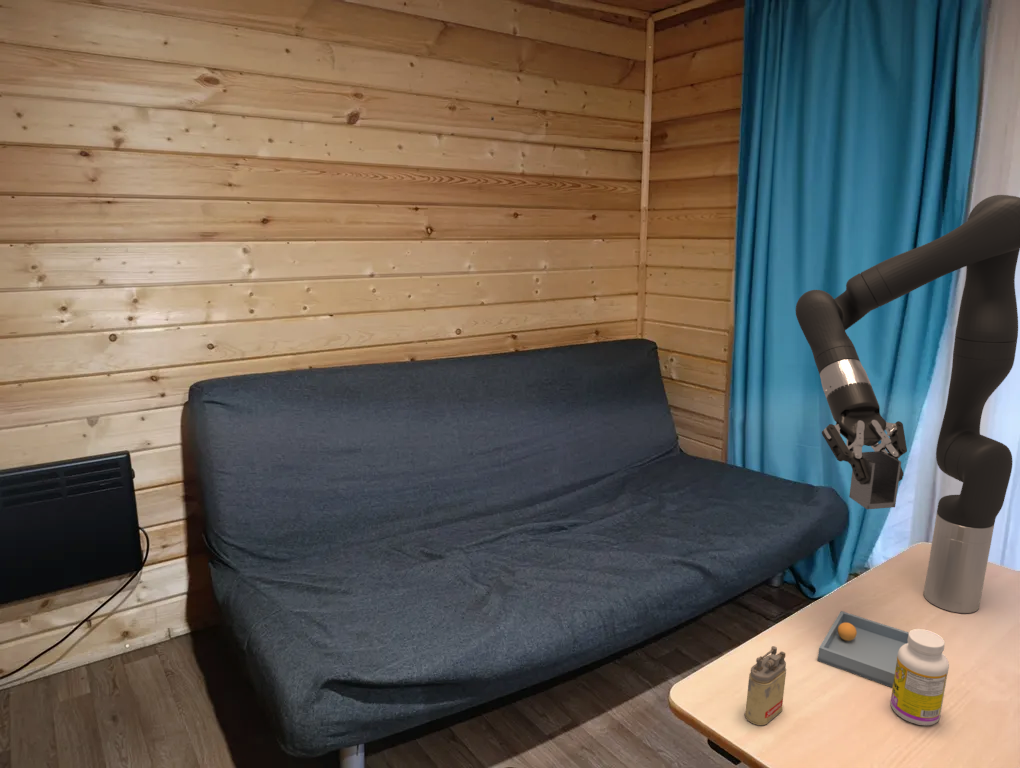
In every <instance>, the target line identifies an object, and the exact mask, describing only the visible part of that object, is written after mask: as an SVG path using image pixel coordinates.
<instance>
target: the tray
mask: <svg viewBox="0 0 1020 768" xmlns="http://www.w3.org/2000/svg"><path fill="white" fill-rule="evenodd" d="M842 623H850V624H852V625H853V626H854V627H855V628H856V631H857V634H856V637H855V638H854V639H853V640H850V641H846V640H844V639H842V638H841V637H840V636H839V634H838V627H839V625H840V624H842ZM909 632H910V631H905V630H903V629H900V628H897V627H894V626H891V625H887V624H885V623H884V624H883V623H881V622H878V621H875V620H872V619H868V618H865V617H861V616H859V615H856V614H852V613H849V612H847V611H843V610H840V612H839V614H838V615H837V617H836V619H835V620H834V621H833V624H832V625H831V627H830V629H829V630H828V632H827V633H826V634H825V637H824V638H823V640H822V642H821V644H820V645H819V647H818V655H817V662H820V663H823V664H825V665H828V666H831V667H834V668H836V669H839V670H842V671H845V672H848V673H851V674H854V675H856V676H858V677H862V678H864V679H867V680H870V681H873V682H874V683H878V684H880V685H881V684H882V685H884V686H886V687H889V688H893V681H894V675H895V669H896V663H897V656H898V651H899V649H900V647H901V646H903V645H904V644H907V643H908V640H907V639H908V634H909Z"/></svg>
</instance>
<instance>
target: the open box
mask: <svg viewBox="0 0 1020 768" xmlns="http://www.w3.org/2000/svg"><path fill="white" fill-rule="evenodd" d="M861 459H863V460H864V462H865V465H866V467H867V470H868V473H869V475H870V481H869V482H868V483H867V484H862V485H861V484H860V482H859V481H857V480H856V478H855V475H854V473H853V470H852V471H851V479H850V487H849V488H850V489H849V495H848V496H849V497H848V498H850V499H851V500H853V501H854V502H855V503H857V504H859V505H860V506H861V507H863V508H864V509H866V510H876V509H888V508H889V509H890V508H891V509H892V508H896V502H897V497H898V489H899V482H900V481H899V475H900V468H902V461H901V460H899V459H898V460H897V459H896V458H894V457H892V456H890V455H888V454H887V453H885V452H883V451H862V457H861Z"/></svg>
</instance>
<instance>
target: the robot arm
mask: <svg viewBox="0 0 1020 768" xmlns="http://www.w3.org/2000/svg"><path fill="white" fill-rule="evenodd" d="M1019 254H1020V197H1019V196H1016V195H1009V194H996V195H990V196H988V197H986V198H985V199H982V200H981V201H979V202H978V203H977V204H976V205H975V206H974V207H973V208H972V210H971V211H970V213H969V215H968V217H967V221H965V222H964V223H962V224H961V225H959V226H958V227H956V228H954V229H953V230H951V231H949V232H947V233H946V234H944V235H942V236H941V237H939V238H936V239H934V240H932V241H929V242H927V243H925V244H923V245H920V246H918V247H914V248H913V249H910V250H908V251H907V250H906V251H905V252H902V253H900V254H897V255H895V256H892V257H890V258H889V257H888V258H887V259H885V260H883V261H881V262H879V263H876V264H875V265H873V266H871V267H868V268H867V269H865V270H863V271H861V272H860V273H858V274H856V275H854V276H852V277H850V278H849V279H848V280H847V282H846V284H845V291H843V292H842V293H841V294H839V295H838V296H837V297H835V298H834V297H833V296H832V295H831V294H830V293H828V292H826V291H824V290H821V289H811V290H808V291H806V292H805V293H803V294H802V295H801V296H800V297H799V298H798V300H797V302H796V305H795V316H796V320H797V322H798V324H799V326H800V330H801V331H802V333H803V335H804V337H805V339H806V341H807V344H808V345H809V347H810V350H811V352H812V355H813V359H814V362H815V365H816V368H817V371H818V374H819V377H820V382H821V387H822V390H823V392H824V393H823V394H824V396H825V399H826V401H827V405H828V407H829V410H830V412H831V415H832V418H833V420H834V422H835V425H834V424H833V423H831V424H828V425H827V426H826V427H825V428H824V429H823V430H822V431H821V434H822V437H823V439H824V440H825V442H826V443H827V445H828V447H829V448H830V450H831V452H832V453H833V456H834V457H835V458H836V460H837V461H838V462H843V461H844V462H847V463H848V464H849V465H850V467H851V469H852V470H853V473H854V475H855V478H856V480H857V481H859V482H860V484H861V485H862V484H867V483H868V482H869V481H870V475H869V473H868V470H867V467H866V465H865V462H864V460H863V459H861V457H862V452H863V446H867V447H871V448H872V449H873V452H875V451H883V452H885V453H887V454H888V455H890V456H892V457H894V458H896V459H897V460H899V458H901V456H903V455H905V454H906V453H907V451H908V447H907V441H906V436H905V429H904V428H905V427H904V423H903V422H901V421H896V422H895V423H893V422H887V421H886V420H885V418H884V417H883V416H882V415H881V412H880V411H881V409H880V408H881V407H880V404H879V401H878V400H877V397H876V394H875V391H874V388H873V387H872V383H871V381H870V379H869V376H868V374H867V371H866V369H865V368H864V367H863V365H862V362H861V360H860V358H859V355H858V351H857V350H856V347H855V345H854V343H853V342H852V339H851V338H850V337H849V335H848V333H847V332H846V330H848V329H849V328H850V327H852V326H854V325H855V324H856V323H857V322H859V321H860V320H861V319H862V318H864V317H865V316H866V315H867V314H869V313H870V312H872V311H873V310H877V309H878V308H880V307H882V306H885V305H888V304H889V303H891V302H892V301H894V300H897V299H899V298H902V296H904V295H907V294H909V293H911V292H913V291H914V290H917V289H919V288H921V287H923V286H925V285H927V284H929V283H931V282H933V281H935V280H938V279H939V278H941V277H943V276H946V275H948V274H951V273H953V272H955V271H958V270H961V269H962V268H965V267H966V268H965V269H966V270H965V271H966V272H965V280H964V287H963V291H962V296H961V299H960V305H959V310H958V317H957V321H956V328H955V335H954V343H953V344H954V345H953V352H952V363H951V364H952V365H951V366H952V367H951V373H950V380H949V388H948V394H947V399H946V404H945V410H944V415H943V419H942V422H941V427H940V431H939V435H938V438H937V444H936V450H935V451H936V453H935V459H936V464H937V466H938V468H939V469H940V471H941V472H943V473H944V474H946V475H947V476H949V477H951V478H953V479H955V480H956V481H959V482H962V486H961V489H960V493H959V494H949V495H944V496H942V497H941V498H940V499H938V500H939V501H938V503H937V509H936V516H935V522H934V529H933V535H932V542H931V547H930V551H929V553H930V554H929V558H928V563H927V564H928V566H927V571H926V577H925V583H924V588H923V589H924V590H923V597H924V598H925V599H926V600H927V601H928V602H929V603H930V604H932V605H934V606H935V607H937V608H940V609H943V610H945V611H948V612H952V613H959V614H970V613H971V614H972V613H974V612H976V611H978V610H979V608H980V604H981V599H982V593H983V588H984V583H985V578H986V573H987V567H988V561H989V556H990V550H991V546H992V539H993V533H994V529H995V523H996V519H997V516H998V515H999V513H1000V511H1001V510H1002V508H1003V506H1004V502H1005V500H1006V499H1005V498H1006V495H1007V490H1008V487H1009V483H1010V479H1011V475H1012V471H1013V470H1012V469H1013V455H1012V452H1011V450H1010V448H1009V447H1008V446H1007V445H1006V444H1004V443H1003V442H1000V441H998V440H996V439H993V438H990V437H989V436H985V435H983V434H981V420H982V415H983V411H984V408H985V405H986V403H987V401H988V400H989V399H990V397H991V396H992V394H993V393H994V392H995V391H996V390H997V389H998V388H999V386H1000V385H1001V384H1002V383H1003V382H1004V381H1005V379H1006V378H1007V377H1008V375H1009V374H1010V372H1011V371H1012V369H1013V366H1014V364H1015V358H1016V351H1017V344H1018V337H1019V316H1018V314H1019V313H1018V312H1019V311H1018V303H1017V295H1016V285H1015V278H1016V277H1015V276H1016V268H1017V265H1018V264H1017V263H1018V259H1019ZM842 437H844V438H845V439H846V443H845V441H844V439H843V438H842ZM880 441H881V442H880ZM879 442H880V443H879ZM903 477H904V470H903V468H902V467H901V468H900V475H899V482H900V481H902V480H903Z"/></svg>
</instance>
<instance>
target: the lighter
mask: <svg viewBox="0 0 1020 768" xmlns="http://www.w3.org/2000/svg"><path fill="white" fill-rule="evenodd" d="M777 650H778V647H777V646H775V645H772V646H771V649H770V650H769V651H768V652H767V653H765V654H764V655H762V656H758V657H757V658H756V660H755V662H756V663H755V664H754V665H752V666H751V667H750V672H749V677H748V683H747V695H746V704H745V710H744V711H745V712H744V717H745V719H746V720H747V721H748V722H750V723H751V724H754V725H757V726H765V725H767V724H768V723H770V722H772V720H774V719H775V718H776V717H777V716H778V715H779V714H781V712H783V705H784V704H783V702H784V694H785V685H786V676H787V668H786V667H787V665H786V664H787V663H786V660H785V658H786V652H784V651H780V652H778V653H777Z"/></svg>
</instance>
